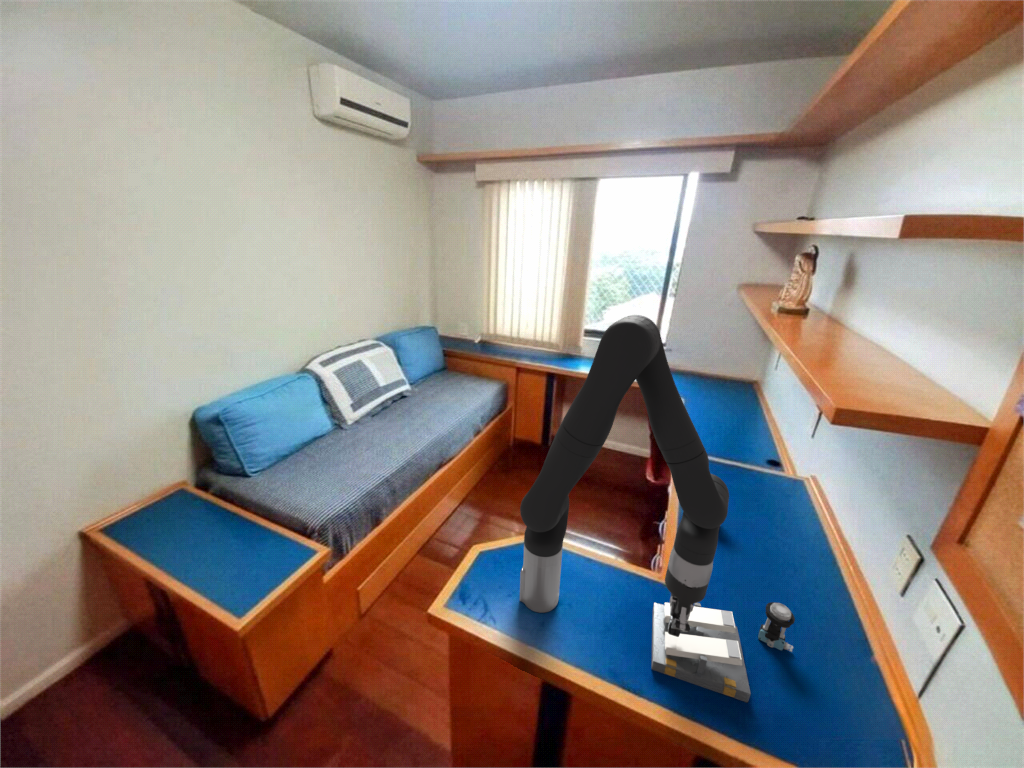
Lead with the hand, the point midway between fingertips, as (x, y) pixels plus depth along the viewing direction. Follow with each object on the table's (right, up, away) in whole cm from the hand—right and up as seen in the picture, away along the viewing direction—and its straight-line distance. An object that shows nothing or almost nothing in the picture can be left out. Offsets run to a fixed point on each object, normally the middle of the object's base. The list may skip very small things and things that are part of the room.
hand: (673, 632), depth 81 cm
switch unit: (+7, -7, +4) cm, 10 cm away
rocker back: (+8, 0, +5) cm, 10 cm away
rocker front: (+5, -2, -1) cm, 6 cm away
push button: (+25, -7, +6) cm, 27 cm away
